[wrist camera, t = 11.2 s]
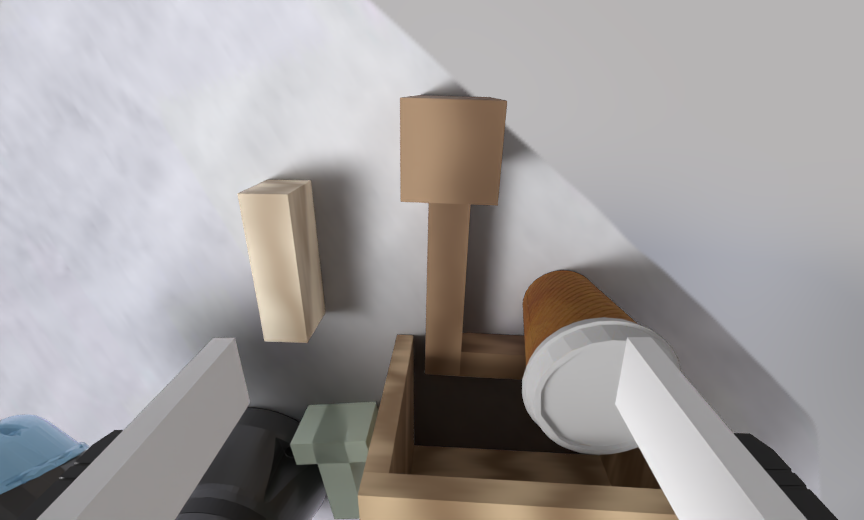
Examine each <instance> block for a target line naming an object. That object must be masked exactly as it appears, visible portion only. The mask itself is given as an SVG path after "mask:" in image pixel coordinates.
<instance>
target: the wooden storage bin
mask: <svg viewBox="0 0 864 520" xmlns="http://www.w3.org/2000/svg"><path fill="white" fill-rule="evenodd" d="M358 506H359V517H360V520H679V519H678V517H677V516H676V514H675V512H674V510H673V508H672V507H671V505H670V503H669V501H668V499H667V498H666V496H665V494H664V492H663V490H662V488H661V487H660V485H659V483H658V481H657V479H656V478H655V476H654V474H653V472H652V470H651V468H650V467H649V465H648V463H647V461H646V459H645V458H644V456H643V454H642V452H641V450H640V448H639V447H637V448H634V449H631V450H628V451H625V452H620V453H615V454H604V455H585V454H567V453H548V452H530V451H512V450H494V449H475V448H457V447H439V446H421V445H414V349H413V335H397V337H396V341H395V345H394V349H393V353H392V357H391V361H390V366H389V370H388V374H387V378H386V382H385V386H384V390H383V394H382V398H381V402H380V406H379V410H378V414H377V419H376V423H375V427H374V431H373V435H372V439H371V443H370V447H369V451H368V455H367V459H366V463H365V467H364V471H363V476H362V480H361V484H360V488H359V492H358Z"/></svg>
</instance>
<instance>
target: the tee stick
mask: <svg viewBox="0 0 864 520" xmlns="http://www.w3.org/2000/svg"><path fill="white" fill-rule="evenodd" d="M377 414H378V409H377V404H376V402H359V403H340V404H321V405H308V407H307V409H306V411H305V414H304V416H303V418H302V420H301V422H300V424H299V426H298V429H297V431H296V433H295V435H294V437H293V439H292V441H291V443H290V446H291V449H292V452H293V455H294V458H295V461H296V464H297V465H303V464H318V467H319V470H320V474H321V477H322V480H323V483H324V487H325V490H326V493H327V496H328V500H329V503H330V506H331V509H332V513H333V516H334V519H357V518H360V517H359V506H358V492H359V488H360V484H361V480H362V476H363V471H364V467H365V463H366V459H367V455H368V451H369V447H370V443H371V439H372V435H373V431H374V427H375V423H376V419H377Z"/></svg>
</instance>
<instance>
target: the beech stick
mask: <svg viewBox="0 0 864 520" xmlns="http://www.w3.org/2000/svg"><path fill="white" fill-rule="evenodd" d="M238 199H239V205H240V210H241V216H242V221H243V227H244V232H245V237H246V243H247V248H248V254H249V259H250V265H251V270H252V276H253V281H254V287H255V292H256V298H257V303H258V308H259V314H260V319H261V325H262V330H263V336H264V341H269V342H296V343H308V341H309V340H310V338H311V336H312V334H313V333H314V331H315V329H316V328H317V326H318V324H319V323H320V321H321V319H322V318H323V316H324V314H325V313H326V312H325V303H324V294H323V285H322V276H321V267H320V258H319V249H318V240H317V231H316V222H315V213H314V204H313V195H312V186H311V180H266V181H263V182H261V183H259V184H257V185H255V186H253V187H251V188H248V189H246V190H244V191H242V192H240V193H238Z"/></svg>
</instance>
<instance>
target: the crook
mask: <svg viewBox="0 0 864 520" xmlns="http://www.w3.org/2000/svg"><path fill="white" fill-rule="evenodd" d="M506 108H507V101H506V100H501V99H496V98H491V97H464V96H430V95H418V96H410V97H402V98H400V171H401V202H421V203H429V214H428V257H427V299H426V342H425V374H429V375H446V376H464V377H481V378H499V379H516V380H522V379H523V376H524V373H525V369H526V355H525V338H524V336H520V335H501V334H482V333H463V332H462V329H463V314H464V298H465V283H466V267H467V252H468V236H469V221H470V205H497V206H498V196H499V185H500V174H501V163H502V152H503V141H504V130H505V119H506Z"/></svg>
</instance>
